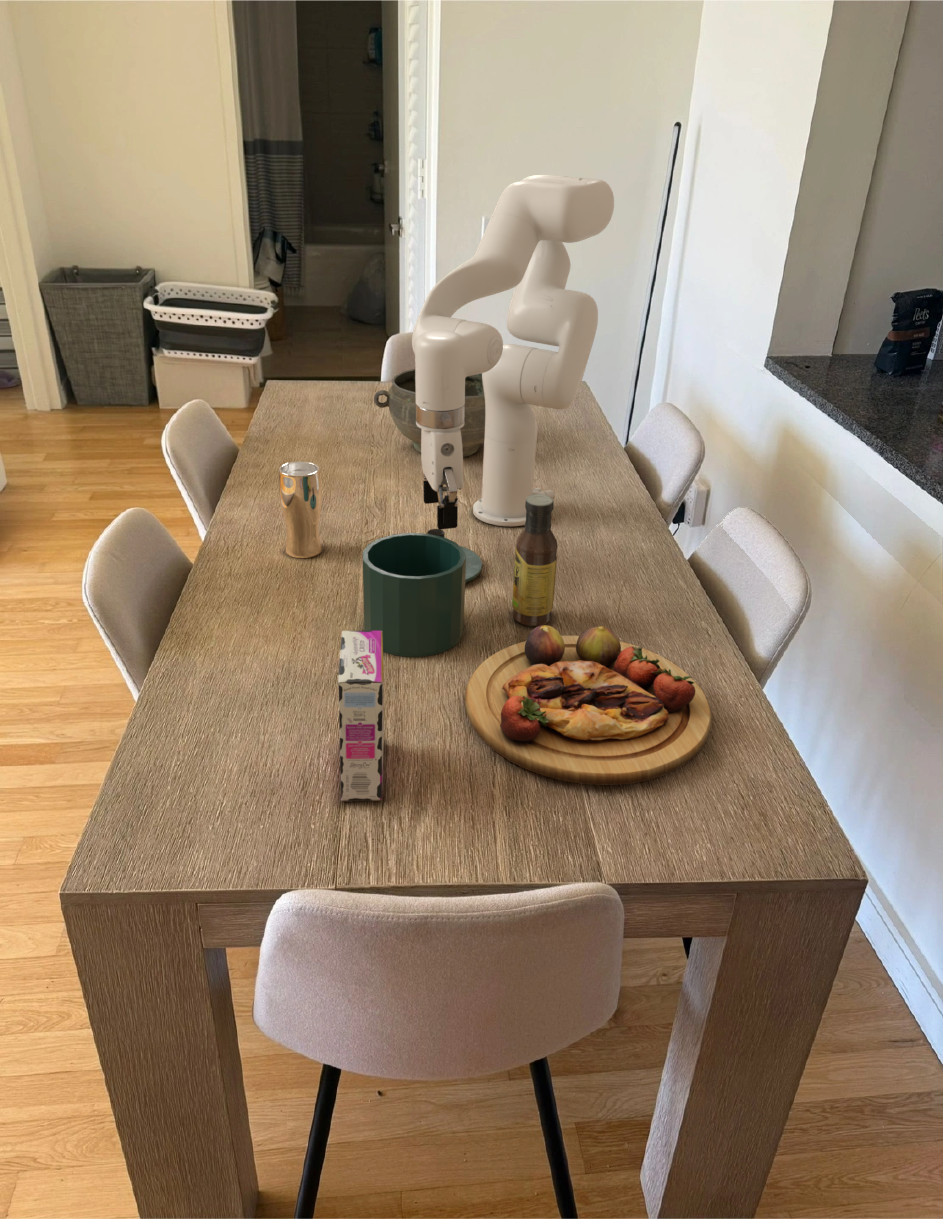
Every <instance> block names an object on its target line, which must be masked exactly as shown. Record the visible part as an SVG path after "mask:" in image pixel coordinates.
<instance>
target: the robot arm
mask: <svg viewBox="0 0 943 1219" xmlns="http://www.w3.org/2000/svg"><path fill="white" fill-rule="evenodd" d="M614 209H615V197H614V193H613V190H612V187H611V186H610V184H609V183H608V182H607V181H605V180H603V179H598V178H590V177H589V178H588V177H577V176H569V175H568V176H567V175H557V174H533V175H529V176H526V177H524V178H522V180H520V181H515V182H512V183H510V184H509V185H508V186H506V187H505V188H504V189H503V191H502V192H501V194H500V196H499V198H498V200H497V202H496V204H495V207H494V210H493V212H492V214H491V216H490V218H489V221H488V223H487V225H486V227H485V230H484V232H483V234H482V237H481V239H480V241H479V244H478V246H477V248H476V251H475V253H474V255H473V256H472V257H470V258H469V259H468V260H465V261H464V262H463V263H461V264H460V265H457V267H455V268H453V270H451V271H449V273H447V274H446V275H445V276H443V277H442V278H441V279H440V280H439V281H437V283H436V284H435V285H434V286H433V287H432V288H431V290H430V291H429V292H428V294H427V296H426V298H425V300H424V302H423V305H422V307H421V310H420V311H419V314H418V316H417V318H416V320H415V324H414V327H413V331H412V335H411V348H412V351H413V353H414V366H415V367H414V369H415V384H416V425H417V426H418V427H419V428H421V430H422V432H421V453H420V454H421V455H420V459H421V461H420V462H421V470H422V474H423V481H422V483H423V484H422V486H423V503H424V504H425V505H426V504H428V505H429V504H438V505H436V524H437V525H436V527H437V529H439V530H451V529H456V528H458V523H459V522H458V521H459V520H458V518H459V517H458V516H459V515H458V514H459V512H458V511H459V509H458V506H459V501H458V500H459V498H458V491H461V490H463V488H464V486H465V484H464V457H463V450H462V438H461V431H460V428H462V427H463V426H464V418H465V378H466V377H467V376H471V375H477V374H481V373H482V381H483V388H484V396H485V438H484V441H483V462H482V463H483V464H482V484H481V498H480V499H478V500H477V501H475V502H474V504H473V505H472V513H473V515H474V516H475V518H476V519H478V520H480V521H481V522H483V523H486V524H488V525H493V526H499V527H521V526H525V522H526V508H525V502H526V498H527V497H529V496H531V495H535V494H541V495H547V496H549V497H551V498H552V499H553V500H555V496H556V495H555V491H554V490H553V489H547V490H542V488H541V487H534V479H535V469H536V468H535V467H536V453H537V442H538V441H537V439H538V438H537V437H538V421H537V416H536V414H535V412H534V409H533V408H532V406H538V407H542V408H546V409H553V410H565V409H568V408H569V407H571V405H573V403H574V402H575V400H576V399H577V396H578V394H579V392H580V388H581V385H582V382H583V378H584V376H585V372H586V367H587V365H588V363H589V362H588V361H589V358H590V355H591V351H592V348H593V344H594V341H595V338H596V334H597V328H598V323H599V310H598V305H597V302H596V301H595V299H594V298H593V297H592V296H591V294H588V293H586V292H583V291H578V290H572V289H566V286H567V282H568V278H569V275H570V272H571V259H570V256H569V253H568V251H567V248H566V247H565V246H566V245H565V244H564V243H566V244H573V243H578V242H582V241H585V240H588V239H591V238H592V237H595V236H598V235H600V234H601V233H602V232H604V230H605V229H606V228H607V227H608V225H609V223H610V221H611V220H612V217H613V215H614ZM511 289H513V293H512V296H511V298H510V299H511V300H510V304H509V307H508V310H507V315H506V329H507V331H508V333H509V334H510V335H511V336H513V338H516V339H518V340H521V341H525V342H530V343H537V344H542V345H548V346H553V347H558V351H555V350H549V349H543V348H538V347H533V346H527V345H521V344H516V343H504V339H503V337H502V334H501V333H500V331H499V330H498V329H497V328H496V327H494V326H493V325H490V324H487V323H483V322H479V321H473V320H467V319H463V318H456V317H453V316H454V314H455V313H456V312H457V311H458V310H460V309H461V308H462V307H464V306H466V305H467V304H469V303H471V302H473V301H477V300H480V299H483V298H486V297H490V296H493V295H496V294H500V293H503V292H506V291H510V290H511ZM444 493H446V495H444Z"/></svg>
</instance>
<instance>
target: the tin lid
mask: <svg viewBox="0 0 943 1219" xmlns="http://www.w3.org/2000/svg"><path fill="white" fill-rule="evenodd" d="M427 534H431V535H436V536H441V537H444V538H446V537H445V535H446V534H445V531H444V529H441V530H439V529H438V528H431V529H429V530H427ZM459 546H460V547H461V548H463V549H464V552H465V555H466V577H465V584H466V583H469V582H471V581H473V580H474V579H475V578H477V577H478V576H479V575H480V574H481V572H482V569H483V561H482V559H481V557H480V556H479V555H478V554H477V553H475V551H473V550H471V549H469V548H467V547H465V546H462V545H459Z"/></svg>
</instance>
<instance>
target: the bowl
mask: <svg viewBox="0 0 943 1219" xmlns="http://www.w3.org/2000/svg"><path fill="white" fill-rule="evenodd" d="M380 396H385V397H386V401H384V402H381V401H379V398H380ZM373 402H374V404H375V405H376V406H377V407H378V408H380V409H381V408H387V407H388V410H389V413H390V416H391V418H392V421H393V423H394V424H395V426H396V428H397V430H398V431H399V432H400V433H401V434H402V435H403V436H404V437H406V438H407V439H409V440H410V441H412V442H413V443H412V445H413V448H414V449H415V451H417V452H419V453H420V454H421V432H422V430H421V428H419V427H418V426H417V425H416V384H415V368H413V369H407V370H405V371H402V372H399V373H398V374H397V375H395V376H394V377H393V378H392V379H391V386H390V387H389V388H388V391H387V390H385V389H381V390H379V391H377V392H376V393H375V394H374V396H373ZM460 431H461V438H462V450H463V458H465V457H468V456H469V457H470V456H472V455H473V454H475V453H477V452H478V450H479V448H480V445H481V444H482V443H484V438H485V396H484V388H483V381H482V373H481V374H477V375H471V376H467V377H466V378H465V418H464V426H463V427H462V428H460Z"/></svg>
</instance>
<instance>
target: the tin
mask: <svg viewBox="0 0 943 1219" xmlns="http://www.w3.org/2000/svg"><path fill="white" fill-rule="evenodd" d="M460 546H461V545H459V544H458V543H457V542H456V541H453V540H451V539H449V538H447V537H445V538H444V537H441V536H436V535H431V534H428V533H423V532H422V533H420V532H404V533H393V534H390V535H387V536H383V537H379V538H377V539H375V540H374V541H371V542H370V543H368V544H367V545H366V547H365V548H364V549H363V551H362V555H361V556H362V596H363V597H362V598H363V600H362V601H363V631H382V639H383V653H386V654H389V655H393V656H398V657H405V658H406V657H407V658H422V657H430V656H435V655H438V654H442V653H444V652H447V651H449V650H451V649H453V648H454V647H455V646H456V645H457V644H458V643H459V642H460V641H461V639H462V637H463V634H464V633H463V632H464V626H465V625H464V624H465V601H466V599H465V598H466V583H465V577H466V555H465V552H464V549H463V548H461V547H460Z"/></svg>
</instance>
